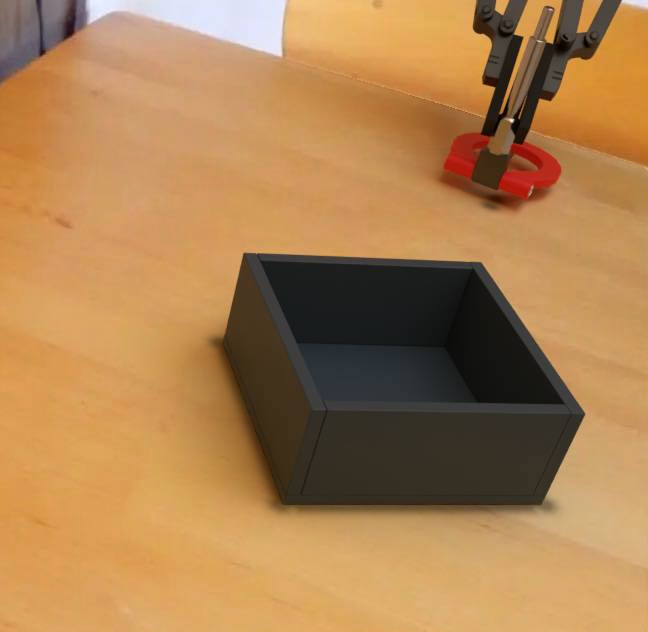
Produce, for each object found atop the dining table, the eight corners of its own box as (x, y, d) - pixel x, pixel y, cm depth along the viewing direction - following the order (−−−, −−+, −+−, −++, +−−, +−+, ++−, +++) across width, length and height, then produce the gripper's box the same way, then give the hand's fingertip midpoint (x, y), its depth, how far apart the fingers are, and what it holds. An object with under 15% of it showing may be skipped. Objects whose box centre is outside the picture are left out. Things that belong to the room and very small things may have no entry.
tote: (448, 348, 78) (481, 261, 74) (542, 504, 67) (586, 413, 63) (222, 342, 75) (243, 251, 71) (283, 504, 65) (311, 409, 60)
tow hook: (468, 136, 101) (429, 169, 95) (526, -32, 93) (488, -9, 86) (568, 172, 98) (535, 208, 92) (637, 2, 90) (606, 28, 84)
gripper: (685, -117, 94) (593, 177, 93) (491, -159, 97) (399, 128, 96) (720, -182, 87) (620, 136, 86) (509, -227, 89) (410, 84, 88)
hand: (504, 131), depth 91 cm, fingers closed on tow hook, 2 cm apart
